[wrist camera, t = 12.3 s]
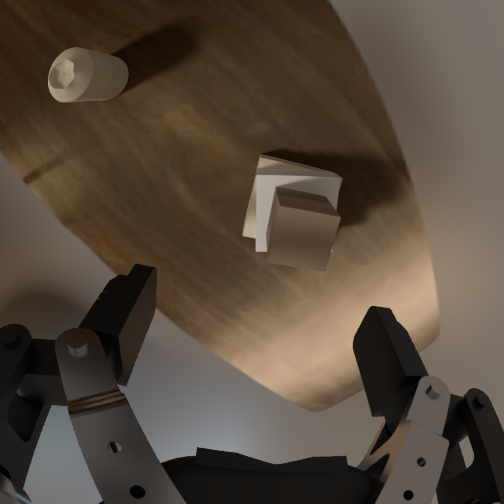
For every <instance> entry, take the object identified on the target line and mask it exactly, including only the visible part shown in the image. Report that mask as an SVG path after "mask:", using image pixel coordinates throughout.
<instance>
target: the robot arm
mask: <svg viewBox="0 0 504 504" xmlns="http://www.w3.org/2000/svg"><path fill="white" fill-rule="evenodd" d="M156 285H157V269H156V268H155V267H151V266H146V265H141V264H135V265H134V267H133V268H132V270H131V271H130V273H129V274H128V276H125V275H121V274H120V275H118V276H116V277H115V278H113V279H112V280H110V281H109V282H108V284H107V285H106V286H105V288H104V289H103V292H101V294H100V295H99V297H98V299H97V300H96V301H95V303H94V304H93V306H92V307H91V309H90V310H89V312H88V314H87V315H86V316H85V318H84V319H83V321H82V323H81V324H80V326H79V327H78V328H72V329H69V330H67V331H65V332H63V333H62V334H61V335H60V336H59V337H58V338H57V340H46V339H32V337H31V334H30V332H29V330H28V329H27V328H26V327H25V326H23V325H20V324H9V325H6V326H4V327H2V328H0V504H32V502H31V500H30V498H29V496H28V495H27V493H26V492H25V491H24V490H23V487H24V483H25V480H26V476H27V473H28V470H29V466H30V463H31V460H32V457H33V454H34V451H35V448H36V445H37V442H38V440H39V437H40V434H41V431H42V428H43V426H44V423H45V420H46V418H47V415H48V413H49V410H50V408H51V405H61V406H69V407H68V412H69V416H70V419H71V422H72V426H73V429H74V431H75V434H76V437H77V440H78V443H79V446H80V448H81V451H82V453H83V456H84V459H85V461H86V464H87V466H88V469H89V471H90V473H91V475H92V478H93V480H94V482H95V484H96V487H97V489H98V491H99V493H100V495H101V497H102V499H103V501H102V502H100V503H99V504H431V501H432V498H433V496H434V493H435V490H436V493H437V499H438V504H504V431H503V429H502V426H501V424H500V422H499V419H498V417H497V415H496V412H495V410H494V408H493V406H492V403H491V401H490V399H489V398H488V396H487V395H486V394H485V393H484V392H483V391H481V390H479V389H476V388H472V389H470V390H468V392H467V393H466V394H465V395H464V396H463V397H461V396H457V395H453V394H450V392H449V389H448V387H447V386H446V385H445V383H444V382H442V381H441V380H440V379H438V378H436V377H434V376H429V375H428V373H427V371H426V369H425V366H424V364H423V362H422V360H421V358H420V356H419V354H418V352H417V350H415V349H416V348H415V346H414V344H413V342H412V340H411V338H410V336H409V334H408V332H407V330H406V329H405V328H404V327H403V326H402V325H401V324H400V323H399V322H397V320H396V318H395V316H394V314H393V312H392V310H391V309H390V308H385V307H377V306H371V307H370V308H369V309H368V311H367V313H366V315H365V317H364V319H363V321H362V323H361V325H360V326H359V328H358V330H357V332H356V334H355V336H354V340H353V351H354V354H355V357H356V361H357V364H358V367H359V371H360V374H361V378H362V381H363V385H364V388H365V392H366V395H367V399H368V402H369V406H370V410H371V414H372V416H373V417H378V416H384V417H385V421H384V422H383V423H382V424H381V426H380V428H379V430H378V432H377V434H376V436H375V438H374V440H373V442H372V444H371V445H370V447H369V449H368V451H367V453H366V455H365V456H364V458H363V460H362V461H361V463H360V464H359V465H358V466H357V467H353V466H349V465H348V463H347V458H346V456H332V457H310V458H306V459H302V460H298V461H293V462H288V463H283V464H271V463H268V462H264V461H261V460H258V459H254V458H251V457H248V456H245V455H242V454H239V453H234V452H226V451H218V450H211V449H205V448H199V447H198V448H197V452H196V456H187V457H180V458H175V459H171V460H168V461H166V462H163V463H160V461H159V460H158V458H157V456H156V454H155V453H154V451H153V449H152V447H151V446H150V444H149V442H148V440H147V438H146V436H145V434H144V433H143V431H142V429H141V427H140V425H139V423H138V421H137V419H136V417H135V415H134V413H133V411H132V409H131V407H130V404H129V402H128V400H127V398H126V397H125V395H124V394H123V393H121V391H120V389H119V387H118V385H117V384H119V385H122V386H126V385H127V383H128V380H129V378H130V375H131V372H132V369H133V367H134V364H135V361H136V359H137V357H138V354H139V351H140V349H141V346H142V344H143V341H144V339H145V336H146V334H147V331H148V329H149V326H150V324H151V322H152V319H153V316H154V313H155V308H156ZM467 435H468V437H469V440H470V443H471V446H472V449H473V452H474V460H473V463H472V464H471V466H469V467H468V468H467V469H466V466H465V462H464V459H463V456H462V452H461V449H460V446H459V442H460V441H462V440H463V439H464V438H465V437H466V436H467Z"/></svg>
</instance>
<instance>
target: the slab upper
mask: <svg viewBox="0 0 504 504" xmlns="http://www.w3.org/2000/svg"><path fill="white" fill-rule="evenodd" d="M339 180H340V178H339V177H338V176H337V175H336V174H335V173H334V172H330V171H311V170H284V169H257V183H256V252H267V243H266V231H267V226H268V221H269V216H270V211H271V206H272V201H273V196H274V191H275V187H280V188H286V189H291V190H297V191H302V192H307V193H312V194H317V195H322V196H326V197H327V199H328V200H329V202H330V203H331V204H332V206H333V207H334V208H335V210H336V211H337V202H338V191H339ZM331 252H332V250H331Z"/></svg>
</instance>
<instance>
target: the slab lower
mask: <svg viewBox="0 0 504 504" xmlns="http://www.w3.org/2000/svg"><path fill="white" fill-rule="evenodd" d="M257 169H284V170H311V171H326V170H323V169H319V168H315V167H312V166H308V165H304V164H300V163H296V162H292V161H288V160H284V159H280V158H275V157H271V156H267V155H262V154H260V158H259V162H258V167H257ZM335 174H336V175H337V176H338V177H339V178H340V180H339V189H340V186H341V183H342V179H343V178H342V177H341V176H340V175H338V174H337V173H335ZM256 183H257V171H256V175H255V180H254V184H253V188H252V193H251V197H250V201H249V206H248V210H247V214H246V219H245V223H244V228H243V236H246V237H251V238H256ZM338 192H339V191H338Z"/></svg>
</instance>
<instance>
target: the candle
mask: <svg viewBox="0 0 504 504" xmlns="http://www.w3.org/2000/svg"><path fill="white" fill-rule="evenodd" d="M128 76H129V73H128V68H127V65H126V64H125V62H124V61H123V60H121V59H120V58H118V57H115V56H112V55H108V54H104V53H100V52H96V51H92V50H88V49H84V48H79V47H74V48H70V49H67V50H66V51H64V52H63V53H61V54H60V55H59V56H58V57H57V58H56V60H55V61H54V63H53V64H52V67H51V69H50V72H49V77H48V86H49V90H50V92H51V94H52V96H53V97H54V98H55V99H56V100H58V101H61V102H77V101H96V100H109V99H112V98H114V97H116V96H117V95H119V94H120V93H121V92H122V91H123V89H124V88H125V86H126V84H127V81H128Z"/></svg>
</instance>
